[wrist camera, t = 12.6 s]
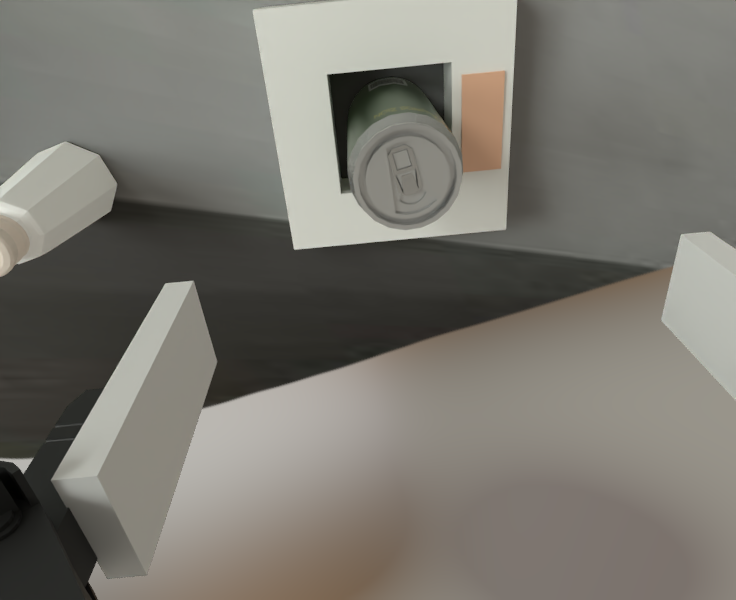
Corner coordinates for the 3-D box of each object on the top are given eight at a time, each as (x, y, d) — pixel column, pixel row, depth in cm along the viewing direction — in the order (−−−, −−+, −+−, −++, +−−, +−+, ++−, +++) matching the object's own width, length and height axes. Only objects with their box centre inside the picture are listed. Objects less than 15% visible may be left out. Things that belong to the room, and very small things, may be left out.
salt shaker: (110, 142, 35) (22, 203, 25) (125, 221, 37) (51, 303, 28) (22, 139, 34) (-100, 200, 25) (45, 219, 37) (-58, 301, 28)
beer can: (335, 91, 33) (330, 140, 23) (419, 62, 33) (452, 99, 22) (362, 172, 36) (368, 248, 26) (439, 146, 35) (478, 215, 25)
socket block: (297, 231, 38) (294, 251, 35) (260, 7, 31) (251, 10, 28) (495, 212, 38) (506, 230, 35) (503, -18, 31) (519, -17, 28)
